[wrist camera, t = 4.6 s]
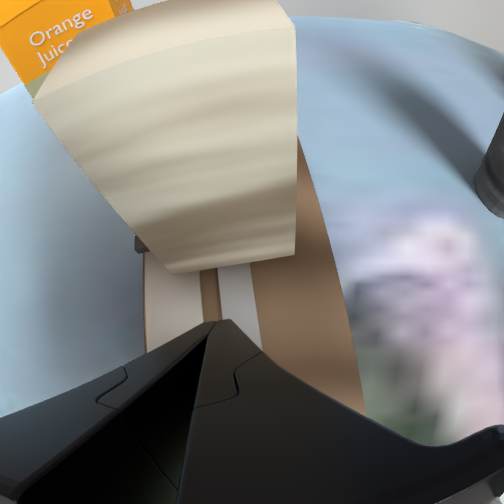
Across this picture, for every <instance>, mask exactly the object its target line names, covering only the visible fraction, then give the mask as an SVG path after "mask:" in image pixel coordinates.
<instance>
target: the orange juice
mask: <svg viewBox="0 0 504 504" xmlns="http://www.w3.org/2000/svg"><path fill="white" fill-rule="evenodd" d="M132 11H134V9H133V7H132V5H131V2H130V0H0V47H1V48H2V50H3V51H4V53H5V55H6V56H7V58H8V60H9V61H10V63H11V64H12V66H13V68H14V69H15V71H16V72H17V74H18V75H19V77H20V78H21V80H22V81H23V83H24V85H25V87H26V89H27V90H28V92H29V93H30V95H31V96H32V98H33V99H34V98H35V96H36V94H37V92H38V91H39V89H40V87H41V86H42V84H43V82H44V81H45V79H46V78H47V76H48V75H49V73H50V71H51V70H52V68H53V67H54V65H55V64H56V62H57V61H58V59H59V58H60V57H61V55H62V54H63V52H64V51H65V50H66V48H67V47H68V45H69V44H70V43H71V41H72V40H73V39H74V37H75V36H76V35H77V33H79V32H81V31H84V30H86V29H88V28H90V27H93V26H95V25H97V24H100V23H102V22H105V21H107V20H110V19H112V18H115V17H118V16H120V15H123V14H126V13H129V12H132Z"/></svg>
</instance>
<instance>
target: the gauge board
mask: <svg viewBox="0 0 504 504" xmlns="http://www.w3.org/2000/svg"><path fill="white" fill-rule="evenodd" d="M143 315H144V340H145V354H146V353H148V352H150V351H152V350H154V349H156V348H157V347H159V346H161V345H163V344H165V343H167V342H168V341H170V340H172V339H174V338H176V337H178V336H179V335H181V334H183V333H185V332H187V331H189V330H190V329H192V328H194V327H196V326H198V325H199V324H201V323H203V322H209V321H216V322H217V321H218V320H224V319H231V320H232V321H233V322H234V323H235V324H236V325H237V326H238V327H239V328H240V329H241V330H242V331H243V332H244V333H245V334H246V335H247V336H248V337H249V338H250V339H251V340H252V341H253V342H254V343H255V344H256V345H257V346H258V347H259V348H260V349H261V350H262V351H263V352H264V353H266V354H267V355H268V356H269V357H270V358H271V359H272V360H273V361H274V362H275V363H276V364H278V365H279V366H280V367H282V368H283V369H285V370H286V371H288V372H289V373H291V374H292V375H294V376H296V377H297V378H299V379H301V380H302V381H304V382H306V383H307V384H309V385H311V386H312V387H314V388H316V389H318V390H319V391H321V392H323V393H325V394H326V395H328V396H330V397H331V398H333V399H335V400H337V401H339V402H340V403H342V404H344V405H346V406H348V407H349V408H351V409H353V410H355V411H357V412H359V413H360V414H362V415H364V416H366V412H365V406H364V400H363V394H362V388H361V382H360V376H359V371H358V365H357V360H356V355H355V349H354V344H353V339H352V335H351V330H350V325H349V320H348V316H347V311H346V307H345V302H344V298H343V294H342V289H341V285H340V281H339V277H338V273H337V269H336V265H335V261H334V257H333V253H332V249H331V245H330V241H329V238H328V234H327V230H326V227H325V223H324V219H323V216H322V212H321V209H320V205H319V202H318V199H317V195H316V192H315V188H314V185H313V182H312V179H311V175H310V172H309V169H308V166H307V163H306V159H305V156H304V153H303V150H302V147H301V144H300V141H299V138H298V135H297V196H296V232H295V255H291V256H285V257H279V258H273V259H267V260H261V261H255V262H249V263H243V264H237V265H231V266H225V267H219V268H212V269H206V270H200V271H194V272H188V273H182V274H175V275H172V274H171V273H170V271H169V270H168V269H167V268H166V267H165V266H164V265H163V264H162V263H161V262H160V261H159V260H158V258H157V257H156V256H155V255H154V254H153V253H152V252H151V251H150V252H144V253H143Z"/></svg>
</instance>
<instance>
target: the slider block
mask: <svg viewBox="0 0 504 504" xmlns="http://www.w3.org/2000/svg"><path fill="white" fill-rule="evenodd" d="M32 104H33V105H34V106H35V108H36V109H37V111H38V112H39V113H40V115H41V116H42V118H43V119H44V120H45V122H46V123H47V125H48V126H49V127H50V129H51V130H52V131H53V133H54V134H55V135H56V137H57V138H58V139H59V141H60V142H61V143H62V145H63V146H64V147H65V149H66V150H67V151H68V153H69V154H70V155H71V157H72V158H73V159H74V160H75V162H76V163H77V164H78V165H79V167H80V168H81V169H82V171H83V172H84V173H85V174H86V176H87V177H88V178H89V179H90V181H91V182H92V183H93V184H94V185H95V187H96V188H97V189H98V190H99V192H100V193H101V194H102V195H103V196H104V198H105V199H106V200H107V201H108V202H109V204H110V205H111V206H112V207H113V208H114V210H115V211H116V212H117V213H118V214H119V215H120V217H121V218H122V219H123V220H124V221H125V222H126V224H127V225H128V226H129V227H130V228H131V229H132V230H133V232H134V233H135V234H136V235H137V236H135V248H134V250H135V251H136V252H137V253H138V254H139V253H144V252H150V251H151V252H152V253H153V254H154V255H155V256H156V257H157V258H158V260H159V261H160V262H161V263H162V264H163V265H164V266H165V267H166V268H167V269H168V270H169V271H170V273H171V274H172V275H175V274H182V273H188V272H194V271H200V270H206V269H212V268H219V267H225V266H231V265H237V264H243V263H249V262H255V261H261V260H267V259H273V258H279V257H285V256H291V255H295V232H296V196H297V69H296V36H295V26H294V25H293V23H292V22H291V20H290V19H289V17H288V16H287V15H286V13H285V12H284V11H283V9H282V8H281V6H280V5H279V4H278V2H277V1H276V0H167V1H164V2H160V3H157V4H153V5H151V6H147V7H144V8H141V9H138V10H135V11H132V12H129V13H126V14H123V15H120V16H118V17H115V18H112V19H110V20H107V21H105V22H102V23H100V24H97V25H95V26H93V27H90V28H88V29H86V30H84V31H81V32H79V33H77V35H76V36H75V37H74V39H73V40H72V41H71V43H70V44H69V45H68V47H67V48H66V50H65V51H64V52H63V54H62V55H61V57H60V58H59V59H58V61H57V62H56V64H55V65H54V67H53V68H52V70H51V71H50V73H49V75H48V76H47V78H46V79H45V81H44V82H43V84H42V86H41V87H40V89H39V91H38V92H37V94H36V96H35V98H34V99H33V101H32Z"/></svg>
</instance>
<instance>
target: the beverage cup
mask: <svg viewBox="0 0 504 504" xmlns="http://www.w3.org/2000/svg"><path fill="white" fill-rule="evenodd" d="M475 187H476V190H477V193H478V195H479V197H480V199H481V200H482V202H483V203H484V205H485V206H486V207H487V208H488V209H489V210H490V211H491V212H492V213H494V214H495V215H496V216H498V217H501V218H503V219H504V113H503V116H502V118H501V121H500V123H499V126H498V128H497V130H496V132H495V135H494V137H493V139H492V141H491V144H490V146H489V148H488V150H487V152H486V154H485V156H484V158H483V160H482V164H481V166H480V169H479V171H478V173H477V174H476V178H475Z"/></svg>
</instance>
